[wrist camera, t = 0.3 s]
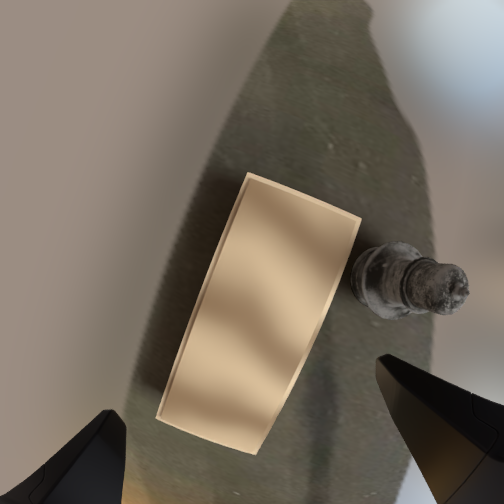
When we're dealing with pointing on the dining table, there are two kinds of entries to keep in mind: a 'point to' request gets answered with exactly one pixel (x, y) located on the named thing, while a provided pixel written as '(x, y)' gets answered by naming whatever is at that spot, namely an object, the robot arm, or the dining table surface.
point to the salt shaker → (406, 282)
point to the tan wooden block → (257, 313)
